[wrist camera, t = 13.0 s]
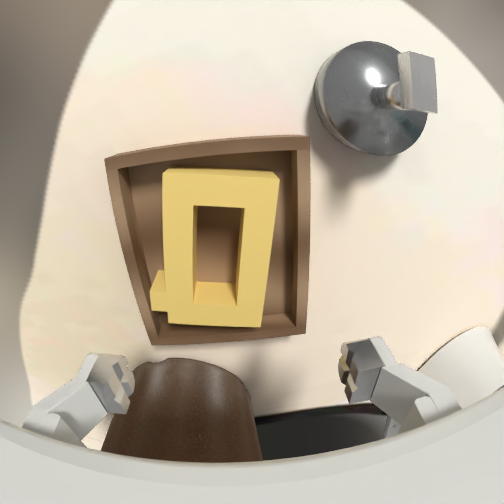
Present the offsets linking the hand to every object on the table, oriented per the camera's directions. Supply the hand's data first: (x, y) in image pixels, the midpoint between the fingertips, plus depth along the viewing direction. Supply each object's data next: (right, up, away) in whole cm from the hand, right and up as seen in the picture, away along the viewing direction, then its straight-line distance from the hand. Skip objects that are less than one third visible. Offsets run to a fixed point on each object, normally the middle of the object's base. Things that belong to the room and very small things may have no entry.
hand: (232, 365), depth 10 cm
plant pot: (-6, -10, +16) cm, 19 cm away
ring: (-1, +5, +8) cm, 10 cm away
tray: (-2, +5, +9) cm, 10 cm away
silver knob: (+8, +14, +5) cm, 17 cm away
